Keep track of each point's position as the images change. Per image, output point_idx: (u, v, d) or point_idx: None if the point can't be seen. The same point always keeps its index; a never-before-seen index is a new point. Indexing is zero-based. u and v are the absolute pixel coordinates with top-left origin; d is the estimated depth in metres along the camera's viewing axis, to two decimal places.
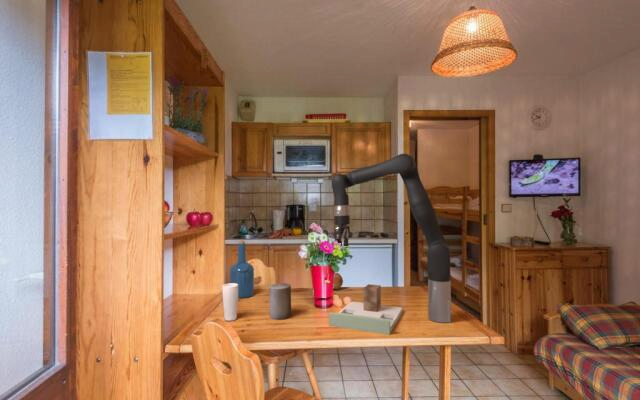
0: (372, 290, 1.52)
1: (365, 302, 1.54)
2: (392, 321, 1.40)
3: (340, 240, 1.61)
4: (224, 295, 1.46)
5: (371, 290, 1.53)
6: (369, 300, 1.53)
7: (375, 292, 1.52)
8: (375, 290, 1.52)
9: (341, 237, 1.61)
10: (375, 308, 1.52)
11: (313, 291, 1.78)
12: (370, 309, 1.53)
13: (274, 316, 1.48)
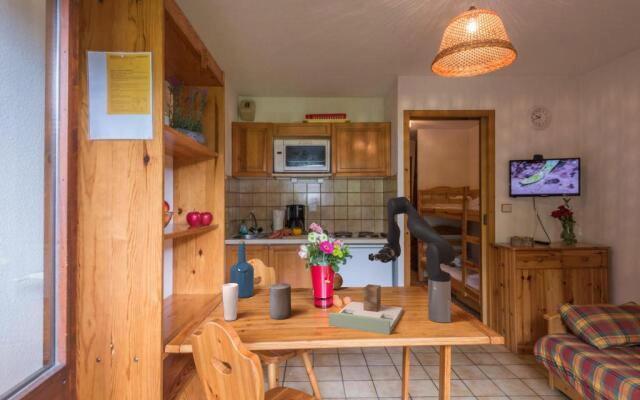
0: (372, 290, 1.52)
1: (365, 302, 1.54)
2: (392, 321, 1.40)
3: (371, 255, 1.76)
4: (224, 295, 1.46)
5: (371, 290, 1.53)
6: (369, 300, 1.53)
7: (375, 292, 1.52)
8: (375, 290, 1.52)
9: (373, 255, 1.77)
10: (375, 308, 1.52)
11: (313, 291, 1.78)
12: (370, 309, 1.53)
13: (274, 316, 1.48)
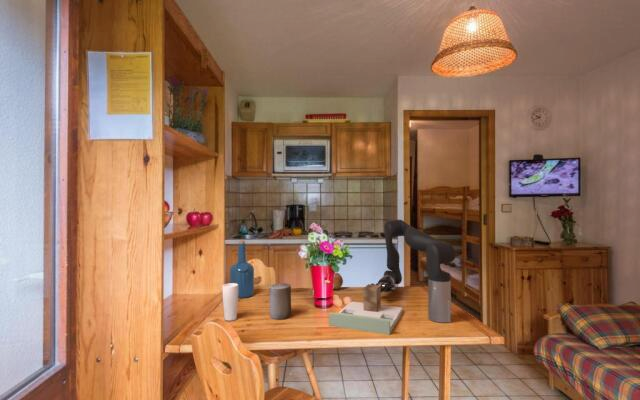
0: (372, 290, 1.52)
1: (365, 302, 1.54)
2: (392, 321, 1.40)
3: None
4: (224, 295, 1.46)
5: (371, 290, 1.53)
6: (369, 300, 1.53)
7: (375, 292, 1.52)
8: (375, 290, 1.52)
9: None
10: (375, 308, 1.52)
11: (313, 291, 1.78)
12: (370, 309, 1.53)
13: (274, 316, 1.48)
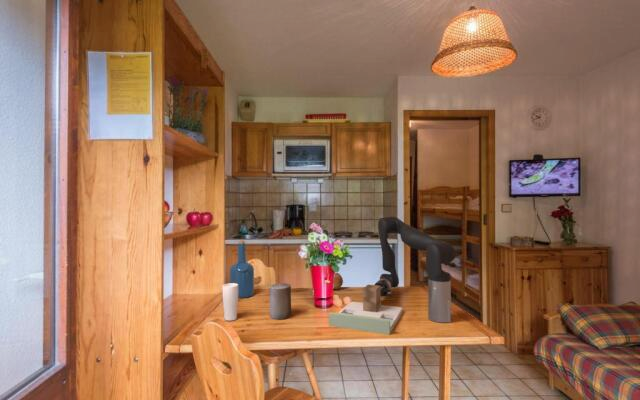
0: (372, 290, 1.52)
1: (365, 302, 1.53)
2: (392, 321, 1.40)
3: None
4: (224, 295, 1.46)
5: (371, 290, 1.52)
6: (369, 300, 1.52)
7: (375, 292, 1.51)
8: (375, 290, 1.51)
9: None
10: (375, 308, 1.51)
11: (313, 291, 1.78)
12: (370, 309, 1.52)
13: (274, 316, 1.48)
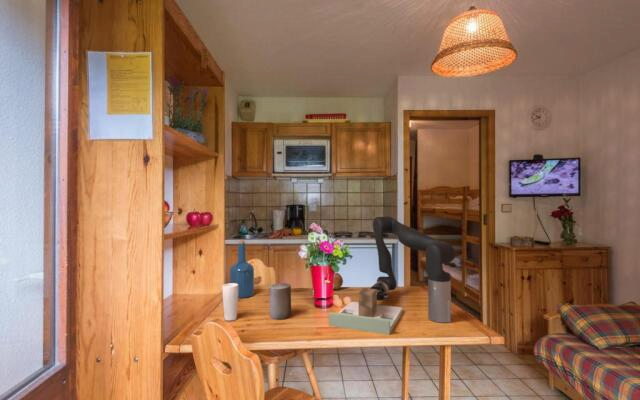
0: (367, 294, 1.45)
1: (360, 307, 1.47)
2: (392, 321, 1.40)
3: None
4: (224, 295, 1.46)
5: (366, 294, 1.46)
6: (365, 304, 1.46)
7: (370, 296, 1.45)
8: (370, 294, 1.45)
9: None
10: (370, 313, 1.45)
11: (313, 291, 1.78)
12: (365, 314, 1.46)
13: (274, 316, 1.48)
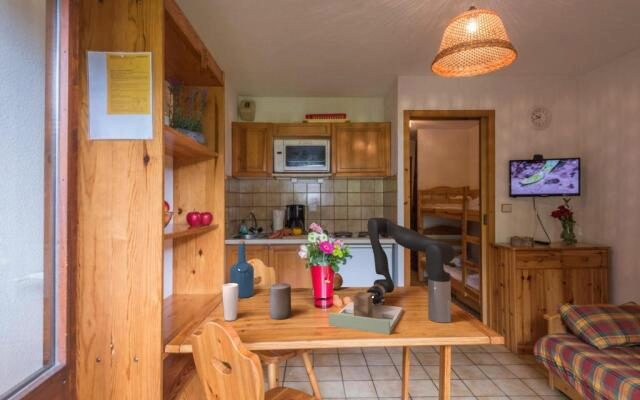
0: (363, 298, 1.39)
1: (355, 312, 1.40)
2: (392, 321, 1.40)
3: None
4: (224, 295, 1.46)
5: (362, 298, 1.39)
6: (360, 309, 1.40)
7: (366, 301, 1.39)
8: (366, 299, 1.39)
9: None
10: None
11: (313, 291, 1.78)
12: None
13: (274, 316, 1.48)
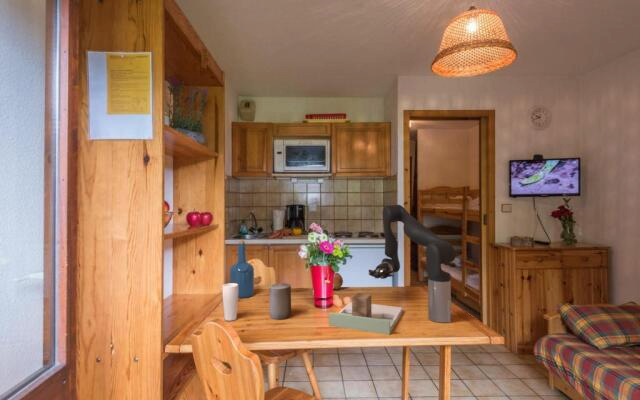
0: (361, 300, 1.37)
1: (354, 313, 1.39)
2: (392, 321, 1.40)
3: (375, 272, 1.68)
4: (224, 295, 1.46)
5: (360, 300, 1.38)
6: (359, 310, 1.38)
7: (365, 302, 1.37)
8: (365, 300, 1.37)
9: (376, 271, 1.69)
10: None
11: (313, 291, 1.78)
12: None
13: (274, 316, 1.48)
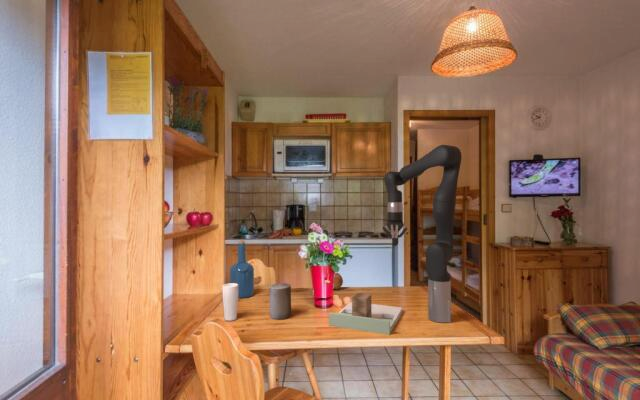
0: (361, 300, 1.37)
1: (354, 313, 1.39)
2: (392, 321, 1.40)
3: (392, 237, 1.71)
4: (224, 295, 1.46)
5: (360, 300, 1.38)
6: (359, 310, 1.38)
7: (365, 302, 1.37)
8: (365, 300, 1.37)
9: (391, 235, 1.71)
10: None
11: (313, 291, 1.78)
12: None
13: (274, 316, 1.48)
